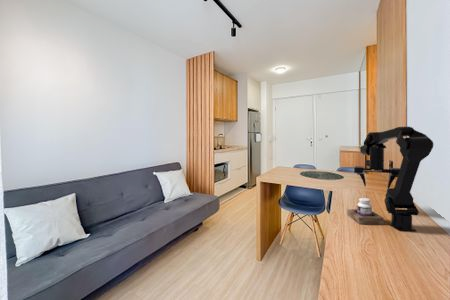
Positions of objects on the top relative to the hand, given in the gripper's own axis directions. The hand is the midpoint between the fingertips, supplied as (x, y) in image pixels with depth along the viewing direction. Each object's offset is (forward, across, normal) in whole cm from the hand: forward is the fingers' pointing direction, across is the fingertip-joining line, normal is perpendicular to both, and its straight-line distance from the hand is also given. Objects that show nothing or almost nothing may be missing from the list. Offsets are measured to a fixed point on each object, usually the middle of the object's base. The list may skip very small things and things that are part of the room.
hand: (376, 187), depth 97 cm
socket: (+13, +5, +14) cm, 20 cm away
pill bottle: (+13, +5, +14) cm, 20 cm away
